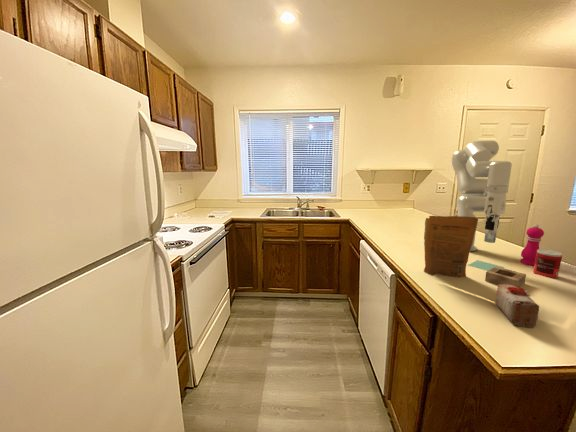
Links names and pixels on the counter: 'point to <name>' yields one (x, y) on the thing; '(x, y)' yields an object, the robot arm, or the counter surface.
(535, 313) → the food item
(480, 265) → the mat
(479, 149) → the robot arm
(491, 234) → the steel pin
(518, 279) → the socket block
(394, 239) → the counter surface
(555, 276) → the canned food
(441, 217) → the pancake mix bag
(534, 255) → the pepper mill
